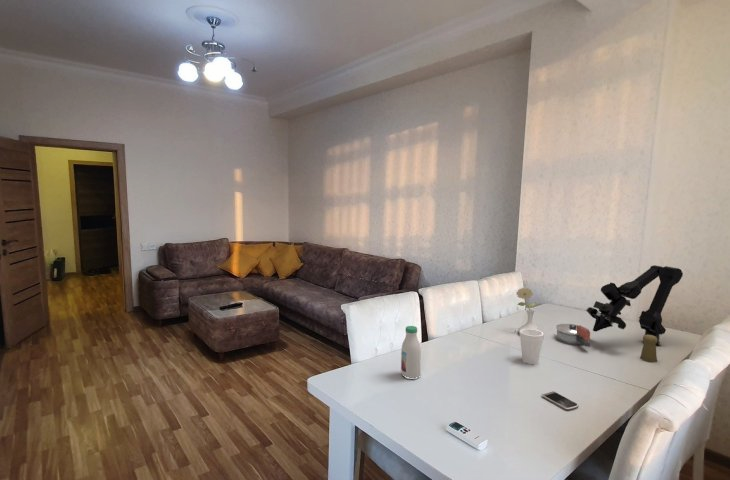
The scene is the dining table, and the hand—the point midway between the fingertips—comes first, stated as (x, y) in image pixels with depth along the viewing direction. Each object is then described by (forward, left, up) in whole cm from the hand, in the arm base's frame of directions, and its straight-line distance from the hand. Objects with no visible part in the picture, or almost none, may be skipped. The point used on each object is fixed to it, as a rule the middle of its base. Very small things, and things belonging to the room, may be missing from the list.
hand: (593, 330), depth 181 cm
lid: (-1, -7, -3) cm, 8 cm away
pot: (-3, -8, -8) cm, 12 cm away
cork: (-1, +21, -9) cm, 23 cm away
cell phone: (+64, -1, -9) cm, 64 cm away
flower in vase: (+1, -30, -9) cm, 31 cm away
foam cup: (+35, -19, -9) cm, 40 cm away
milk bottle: (+80, -52, -9) cm, 95 cm away
